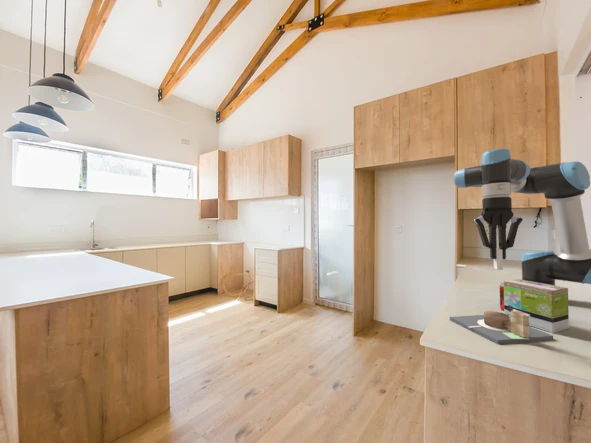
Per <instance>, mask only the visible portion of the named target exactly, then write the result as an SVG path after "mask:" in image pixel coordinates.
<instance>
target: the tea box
mask: <svg viewBox="0 0 591 443" xmlns="http://www.w3.org/2000/svg"><path fill="white" fill-rule="evenodd" d="M503 283H504V311H503V314H506V315H508V316H509V319H510V320H511V311H513V309H515V310H518V311H521V312H524V313H527V314H529V315H530V316H529V327H531V328H534V329H538V330H540V331H543V332H547V331H548V333H550V332H551V334H556V333H558V331H559V332H561V331H565V330H567V329H569V328H570V327H569V322H570V321H569V320H570V318H569V317H570V316H569V314H570V312H569V287H565V286H560V285H555V286H554V285H548V284H543V283H537V282H532V281H526V280H522V278H521V279H520V278H519V279H513V280H507V281H503Z"/></svg>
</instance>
